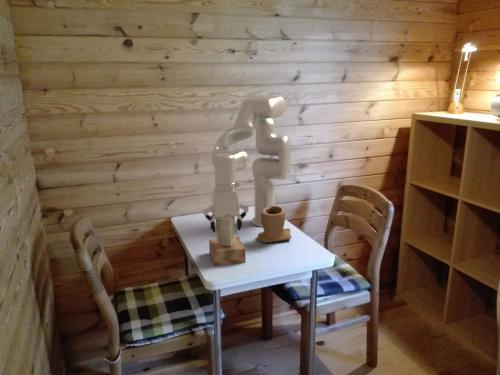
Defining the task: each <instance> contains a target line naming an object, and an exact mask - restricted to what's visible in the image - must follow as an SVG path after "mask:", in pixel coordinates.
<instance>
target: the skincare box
mask: <svg viewBox="0 0 500 375" xmlns="http://www.w3.org/2000/svg"><path fill="white" fill-rule="evenodd" d="M235 218H236V216H231V215H230V216H224V217H217V218H216V219H215V232H216V239H217V244H219V245H225V246H232V245H233V244H235V243H236V237H237V236H236V221H235V220H236V219H235Z"/></svg>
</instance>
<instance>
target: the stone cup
mask: <svg viewBox="0 0 500 375" xmlns="http://www.w3.org/2000/svg"><path fill="white" fill-rule="evenodd" d="M286 215H287V214H286V211H285V208H283V207H282V206H280V205H275V206H270V207H266V208H264V209H263V210H262V212H261V223H262V226H263V227H262V229H263V231H262V232H261V231H260V232H258V234H257V238H258V240H259V241H260V242H263V243H274V242H275V243H276V242H281V241H288V240H290V239H292V234H291V229H290V228H284V227H285V226H284V225H285V222H286V217H287V216H286Z"/></svg>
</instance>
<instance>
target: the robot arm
mask: <svg viewBox="0 0 500 375" xmlns="http://www.w3.org/2000/svg"><path fill="white" fill-rule="evenodd" d="M286 105H287V104H286V100H285V98H284V97H282V96H280V95H252V96H249V97H248V98H245V99H244V100H243V101H242V103H241V106H240V108H239V111H238V114H237V116H236V119H235V122H234V125H233V126H232V127H230V128H229V129H228V130H226V131H225V132H224V133H223V134H221V135H220V137H219V138H218V139H217V141H216V143H215V145H214V148H213V151H212V154H211V163H212V166H213V167H214V189H213V190H212V195H211V196H212V197H211V205H210V206H208V207H207V208H204V209H203V210H202V214H203V215H204V217H205V218H206V219H207V220H208V221H209V222H210V230H211V231H212V233H215V232H216V218H217V217H224V216H230V215H231V216H235V218H236V228H237V231H241V228H242V225H243V221H242V220H243V219H244V218H245V217H246V216H247V214H248V211H249V210H250V209H249V207H248V206H245V205H243V204H241V203H240V201H239V200H240V199H239V193H238V189H237V188H239V187H240V183H239V182H236V172H237V171H243V170H245V169H247V167H248V165H249V163H250V157H249V154H248V153H247V152H246V151H244V150H239V149H238V150H236V149H228V148H229V147H230V146H232V145H234V144H236V143H238V142H242V141H243V140H247V139H250V138H252V137H253V136H254V134H255V151H256V153H258V154H259V155H263V156H272V157H257V158H255V159H254V160H253V162H252V164H251V170H252V174H253V175H252V176H253V183H254V184H253V185H254V186H253V187H254V189H253V190H254V194H253V195H254V217H253V218H252V219H251V224H252V225H254V226H257V227H262V228H263V226H262V223H261V212H262V210H263V209H264V208H266V207H270V206H276V205H275V195H276V194H275V193H276V191H275V190H276V189H275V188H276V187H275V184H274V182H273V181H272V180H280V181H281V180H282V181H283V180H287V179H288V178H289V176H290V172H291V151H292V150H291V140H290V138H289V137H288V135H285V134H275V121H274V119H277V118H279V117H281V116H283V114H284V113H285V111H286ZM273 156H276V157H278V158H275V157H273ZM240 209H242V210H243V212H241V214H240V211H241V210H240ZM209 212H211V213H212V214H211V215H209Z"/></svg>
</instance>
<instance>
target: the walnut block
mask: <svg viewBox="0 0 500 375" xmlns="http://www.w3.org/2000/svg"><path fill="white" fill-rule="evenodd" d="M208 244H209V245H208V248H209V252H208V253H209V255H211V256H210V258H211V261H212V263H213V266H214V267H216V266H217V267H218V266H225V265H234V264H243V263H246V258H247V257H246V247H245V245H244V244H243V241H242V240H241V239H240V237H239V236H236V243H235V244H233V245H232V246H225V245H219V244H217V238H214V239H213V238H212V239H209V240H208Z"/></svg>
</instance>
